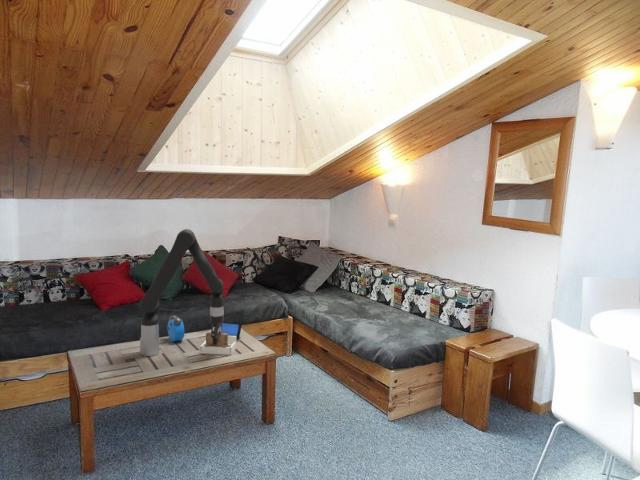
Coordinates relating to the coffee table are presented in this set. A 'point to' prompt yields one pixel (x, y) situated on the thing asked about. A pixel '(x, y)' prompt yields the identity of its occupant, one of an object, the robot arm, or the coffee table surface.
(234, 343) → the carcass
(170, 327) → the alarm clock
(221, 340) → the door panel
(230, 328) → the handheld game console
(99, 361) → the coffee table surface
